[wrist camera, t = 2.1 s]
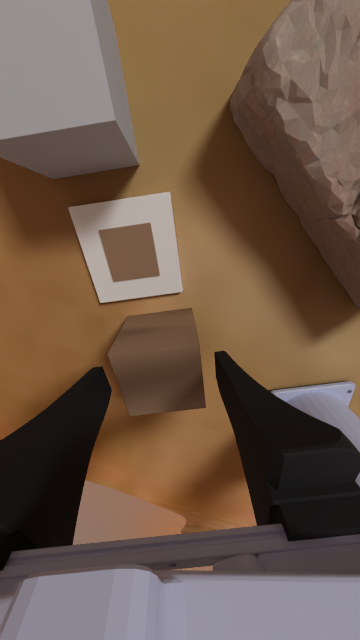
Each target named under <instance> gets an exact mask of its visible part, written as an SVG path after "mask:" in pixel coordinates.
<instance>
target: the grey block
mask: <svg viewBox="0 0 360 640" xmlns="http://www.w3.org/2000/svg"><path fill="white" fill-rule="evenodd" d="M0 158H2V159H5V160H7V161H10V162H12V163H15V164H17V165H20V166H22V167H24V168H27V169H29V170H32V171H34V172H37V173H39V174H42V175H44V176H47V177H49V178H51V179H57V178H64V177H70V176H76V175H82V174H88V173H94V172H101V171H107V170H113V169H119V168H125V167H131V166H138V165H139V159H138V154H137V148H136V143H135V137H134V132H133V126H132V121H131V115H130V110H129V104H128V99H127V93H126V88H125V82H124V77H123V71H122V66H121V60H120V55H119V49H118V44H117V38H116V33H115V27H114V23H113V20H112V16H111V13H110V9H109V6H108V3H107V0H0Z"/></svg>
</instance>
